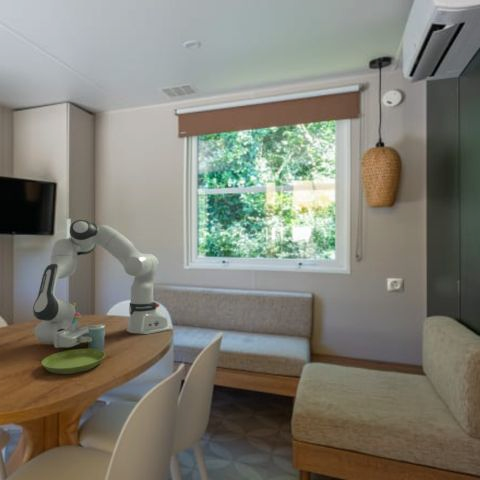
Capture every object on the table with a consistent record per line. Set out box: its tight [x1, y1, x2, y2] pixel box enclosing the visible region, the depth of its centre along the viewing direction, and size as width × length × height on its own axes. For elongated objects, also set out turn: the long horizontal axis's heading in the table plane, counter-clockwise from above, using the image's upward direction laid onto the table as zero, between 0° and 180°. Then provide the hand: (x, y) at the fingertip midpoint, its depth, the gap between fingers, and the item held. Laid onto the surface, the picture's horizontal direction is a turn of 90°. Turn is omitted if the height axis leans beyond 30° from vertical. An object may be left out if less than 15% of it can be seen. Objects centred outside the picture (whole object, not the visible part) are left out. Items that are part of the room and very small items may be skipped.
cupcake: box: [72, 302, 82, 324], centre depth 176 cm, size 9×8×12 cm
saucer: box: [41, 348, 106, 375], centre depth 118 cm, size 21×21×3 cm
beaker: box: [87, 323, 106, 352], centre depth 135 cm, size 6×6×10 cm
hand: (98, 336), depth 135 cm, fingers closed on beaker, 6 cm apart
